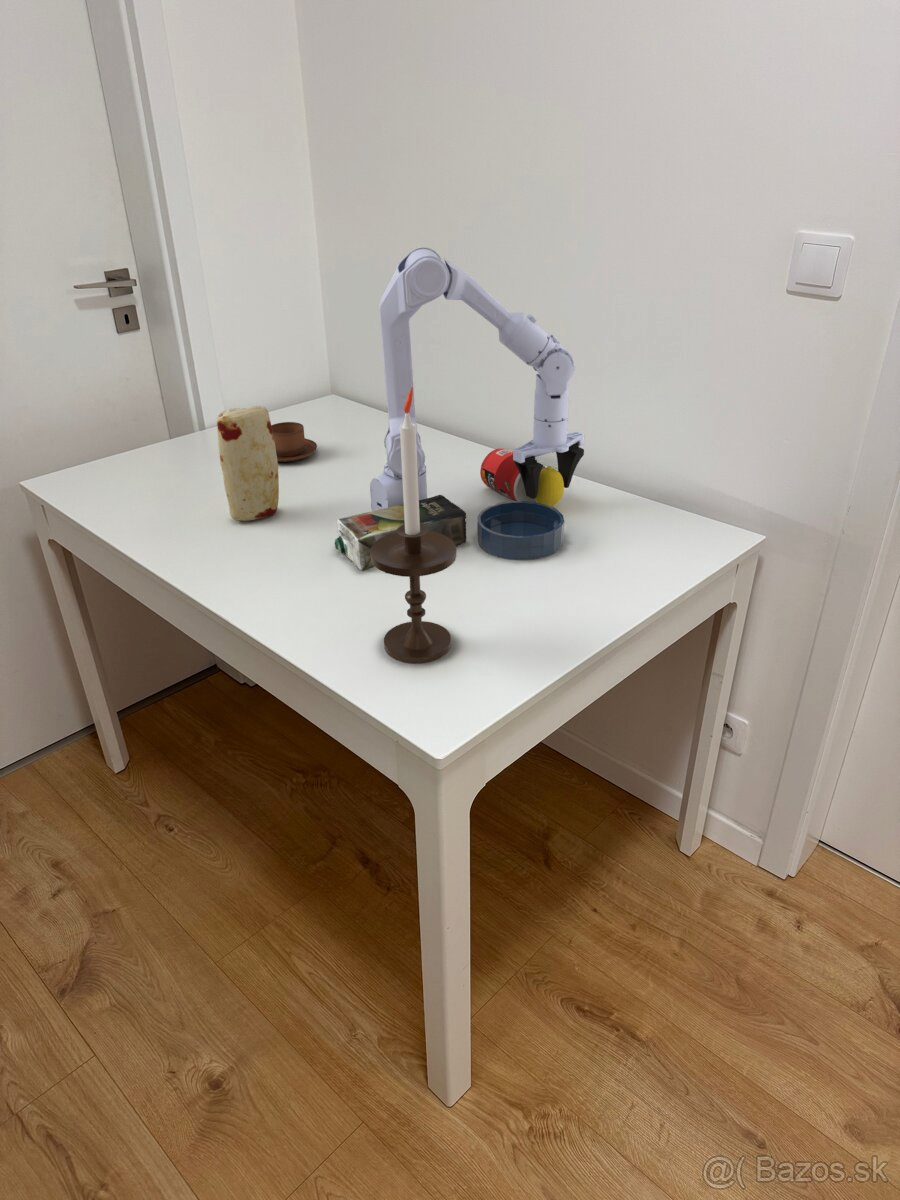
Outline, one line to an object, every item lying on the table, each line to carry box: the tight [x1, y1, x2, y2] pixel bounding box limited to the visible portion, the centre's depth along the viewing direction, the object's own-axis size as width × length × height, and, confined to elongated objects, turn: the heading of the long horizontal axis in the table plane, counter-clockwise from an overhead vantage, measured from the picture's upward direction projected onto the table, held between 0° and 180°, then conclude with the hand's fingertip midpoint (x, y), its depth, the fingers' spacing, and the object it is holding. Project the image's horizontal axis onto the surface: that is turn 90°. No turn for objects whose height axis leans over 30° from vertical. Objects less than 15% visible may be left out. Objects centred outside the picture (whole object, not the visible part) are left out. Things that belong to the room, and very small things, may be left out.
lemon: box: [535, 465, 565, 507], centre depth 149 cm, size 6×6×8 cm
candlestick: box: [370, 386, 457, 664], centre depth 105 cm, size 11×11×35 cm
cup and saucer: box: [271, 421, 318, 463], centre depth 175 cm, size 12×12×6 cm
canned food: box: [479, 448, 547, 502], centre depth 155 cm, size 8×8×11 cm
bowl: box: [476, 500, 565, 561], centre depth 139 cm, size 14×14×4 cm
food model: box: [216, 405, 280, 522], centre depth 146 cm, size 10×7×20 cm
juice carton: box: [334, 494, 467, 571], centre depth 137 cm, size 20×10×6 cm, turn 118°
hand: (547, 491), depth 150 cm, fingers open, 7 cm apart
